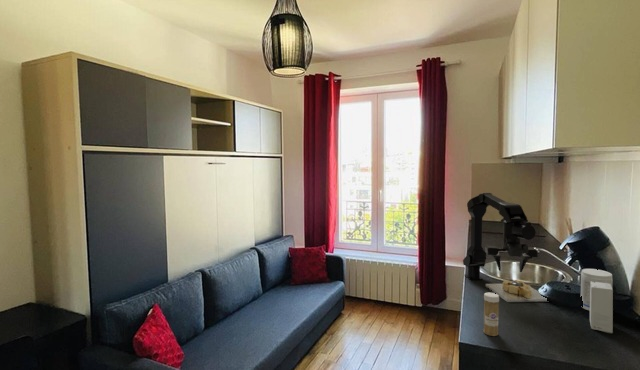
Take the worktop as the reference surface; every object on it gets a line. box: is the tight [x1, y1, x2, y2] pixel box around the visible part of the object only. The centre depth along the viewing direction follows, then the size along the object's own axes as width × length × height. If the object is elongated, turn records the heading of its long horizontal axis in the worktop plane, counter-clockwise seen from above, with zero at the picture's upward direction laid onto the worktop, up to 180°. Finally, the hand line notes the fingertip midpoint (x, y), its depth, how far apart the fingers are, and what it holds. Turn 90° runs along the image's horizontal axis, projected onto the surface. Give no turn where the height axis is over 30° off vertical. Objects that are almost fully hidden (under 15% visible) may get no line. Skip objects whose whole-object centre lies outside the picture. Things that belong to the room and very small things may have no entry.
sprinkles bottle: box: [482, 292, 500, 337], centre depth 114 cm, size 5×5×13 cm
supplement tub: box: [580, 268, 614, 312], centre depth 132 cm, size 10×10×15 cm
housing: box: [485, 281, 548, 303], centre depth 149 cm, size 18×18×4 cm
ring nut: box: [502, 279, 532, 298], centre depth 147 cm, size 14×10×3 cm
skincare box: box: [589, 281, 614, 334], centre depth 118 cm, size 8×6×15 cm
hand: (510, 271), depth 142 cm, fingers open, 8 cm apart
